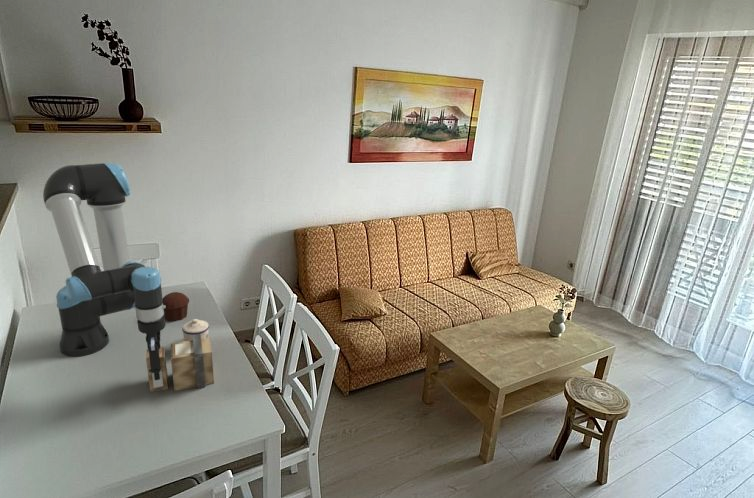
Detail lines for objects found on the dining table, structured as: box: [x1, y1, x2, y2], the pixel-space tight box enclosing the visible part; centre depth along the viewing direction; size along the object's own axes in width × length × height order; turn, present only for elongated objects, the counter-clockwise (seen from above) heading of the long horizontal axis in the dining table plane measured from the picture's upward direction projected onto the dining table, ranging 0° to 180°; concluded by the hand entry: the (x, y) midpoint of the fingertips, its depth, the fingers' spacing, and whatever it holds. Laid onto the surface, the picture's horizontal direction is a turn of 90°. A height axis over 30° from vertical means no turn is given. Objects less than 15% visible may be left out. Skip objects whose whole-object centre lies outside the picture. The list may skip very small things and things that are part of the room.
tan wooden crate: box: [170, 334, 215, 391], centre depth 149 cm, size 12×12×13 cm
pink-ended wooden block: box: [145, 346, 169, 393], centre depth 145 cm, size 5×6×12 cm
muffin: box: [162, 291, 190, 322], centre depth 187 cm, size 12×11×10 cm
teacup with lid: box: [181, 318, 210, 342], centre depth 167 cm, size 12×9×12 cm
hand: (158, 380), depth 146 cm, fingers closed on pink-ended wooden block, 6 cm apart
